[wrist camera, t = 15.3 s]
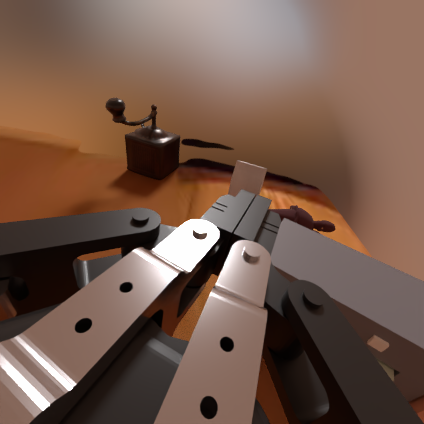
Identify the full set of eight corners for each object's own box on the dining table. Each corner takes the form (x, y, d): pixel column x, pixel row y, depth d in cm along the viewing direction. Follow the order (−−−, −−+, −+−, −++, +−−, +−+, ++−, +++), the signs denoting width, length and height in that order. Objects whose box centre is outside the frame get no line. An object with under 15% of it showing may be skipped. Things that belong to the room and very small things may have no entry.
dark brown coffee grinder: (147, 156, 68) (145, 91, 57) (179, 166, 65) (183, 99, 55) (110, 176, 55) (99, 97, 45) (149, 189, 53) (146, 108, 43)
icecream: (258, 213, 40) (341, 240, 39) (264, 186, 45) (338, 210, 44) (247, 234, 45) (320, 258, 44) (253, 208, 50) (319, 229, 49)
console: (227, 332, 28) (255, 258, 20) (254, 288, 34) (284, 217, 26) (434, 485, 20) (625, 465, 12) (422, 392, 26) (544, 336, 18)
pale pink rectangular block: (253, 210, 52) (265, 172, 46) (226, 201, 53) (234, 163, 48) (256, 203, 55) (268, 166, 49) (231, 194, 56) (239, 157, 51)
